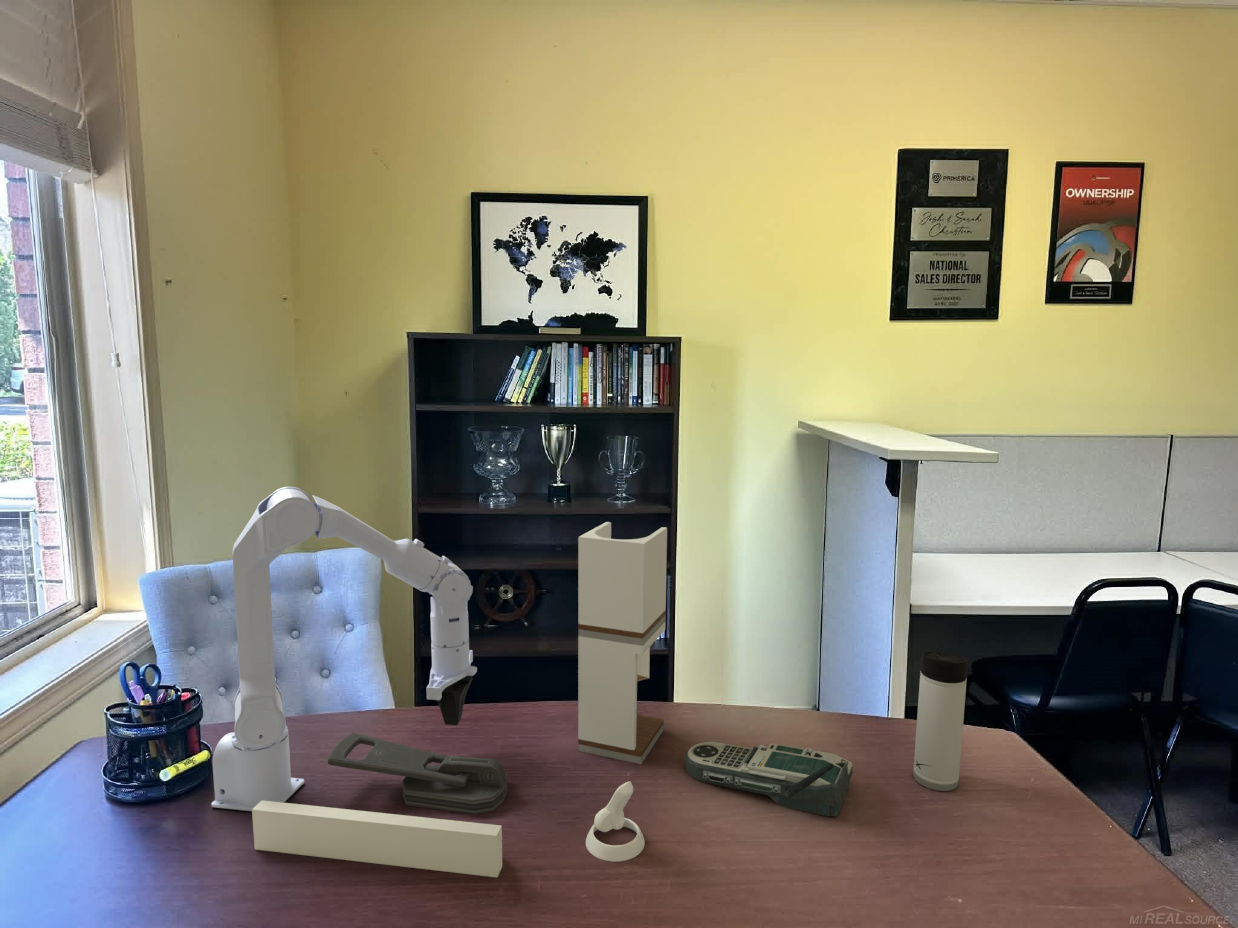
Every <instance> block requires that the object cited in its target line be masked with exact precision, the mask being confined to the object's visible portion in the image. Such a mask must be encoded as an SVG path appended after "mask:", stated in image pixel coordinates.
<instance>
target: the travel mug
mask: <svg viewBox="0 0 1238 928" xmlns="http://www.w3.org/2000/svg"><path fill="white" fill-rule="evenodd" d="M968 665H969V664H968V659H967V658H966V657H965V656H963V655H960V654H957V653H952V652H951V653H944V652H938V651H937V650H926V651H923V652H922V654H921V666H920V671H919V672H920V673H919V685H918V686H919V689H918V701H917V702H918V703H917V716H916V717H917V718H916V729H915V744H914V745H915V746H914V759H913V761H914V762H913V772H912V773H913V778H914V780H915V781H916V782H917V783H918V784H920V785H921V786H923V787H925V788H927V789H929V790H933V791H937V792H938V791H939V792H951V791H953V790H955V789H957V788H958V787H959V783H960V782H959V781H960V769H961V768H960V767H961V756H962V755H961V754H962V743H963V729H964V719H965V704H966V693H967V680H968V679H967V678H968V677H967V673H968Z"/></svg>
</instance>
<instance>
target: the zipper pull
mask: <svg viewBox="0 0 1238 928" xmlns="http://www.w3.org/2000/svg"><path fill="white" fill-rule="evenodd" d="M360 744H361V745H366V746H371V747H372V748H371V749H370V750H369V751H368V753H367V754H366V755H365V756H364V757H363V759H352V758H347V757H348V756H349V754H350V753H351V752H352V751H353V750H354V749H355V748H356V747H357V746H359V745H360ZM431 763H437V764H438V765H435V764H433V765H432V764H431ZM327 764H328V765H329V766H333V767H334V766H335V767H340V768H345V769H346V768H347V769H353V770H359V771H360V770H362V771H365V772H366V771H367V772H373V773H378V774H379V773H380V774H386V775H387V774H388V775H393V776H399V777H403V779H402V782H401V784H402V797H403V800H404V804H405V805H407V806H413V807H420V808H424V809H425V808H427V809H433V810H439V811H448V812H452V813H453V812H454V813H460V814H466V815H467V814H468V815H473V816H474V815H479V814H485V813H491V812H494V811H495V810H496V809H497V808H498V807H499V806H500V805H502V804H503V802H504V801H505V799H506V796H507V794H508V779H507V772H506V770H505V769H504V768H505V767H504V765H503V763H502V762H501V761H499V760H497V758H496V759H495V758H486V757H473V756H457V755H456V756H454V755H453V756H452V755H448V754H441V753H436V752H432V751H428V750H424V749H420V748H417V747H413V746H408V745H405V744H400V743H396V742H392V741H388V740H384V739H380V738H377V737H373V736H369V735H366V734H365V735H364V734H361V733H357V732H352V733H350V734H348V735H347V736H345V737H343V738H342V739H341V740H340V741H339V742H337V744H336V745H335V746H334V747H333V749H332V750H331V751H330V753H329V756H328V759H327ZM439 764H440V765H439Z"/></svg>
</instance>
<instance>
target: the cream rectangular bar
mask: <svg viewBox="0 0 1238 928" xmlns="http://www.w3.org/2000/svg"><path fill="white" fill-rule="evenodd" d="M251 815H252V816H251V817H252V828H253V829H252V830H253V832H252V833H253V843H254V845H253V846H254V850H256V851H264V852H275V853H281V854H291V855H300V856H309V857H317V858H325V859H326V858H327V859H335V860H343V861H344V860H345V861H351V862H360V863H368V864H378V865H386V866H395V867H401V868H402V867H403V868H413V869H418V870H419V869H420V870H421V869H422V870H428V871H429V870H430V871H437V872H438V871H440V872H447V873H448V872H449V873H455V874H463V875H464V874H465V875H473V876H481V877H489V878H498V877H499V875H500V873H501V870H502V868H503V826H502V825H499V824H493V823H492V824H491V823H490V824H489V823H482V822H481V823H480V822H472V821H462V820H454V819H442V818H441V819H440V818H436V817H435V818H433V817H424V816H414V815H406V814H405V815H404V814H395V813H385V812H376V811H375V812H374V811H367V810H357V809H348V808H347V809H346V808H338V807H328V806H320V805H319V806H318V805H310V804H299V803H291V802H290V803H289V802H284V803H282V802H273V801H263V800H262V801H261V802H259V803H258V804H257V805H256V806H255V807H254V808H253V809H252V811H251Z"/></svg>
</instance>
